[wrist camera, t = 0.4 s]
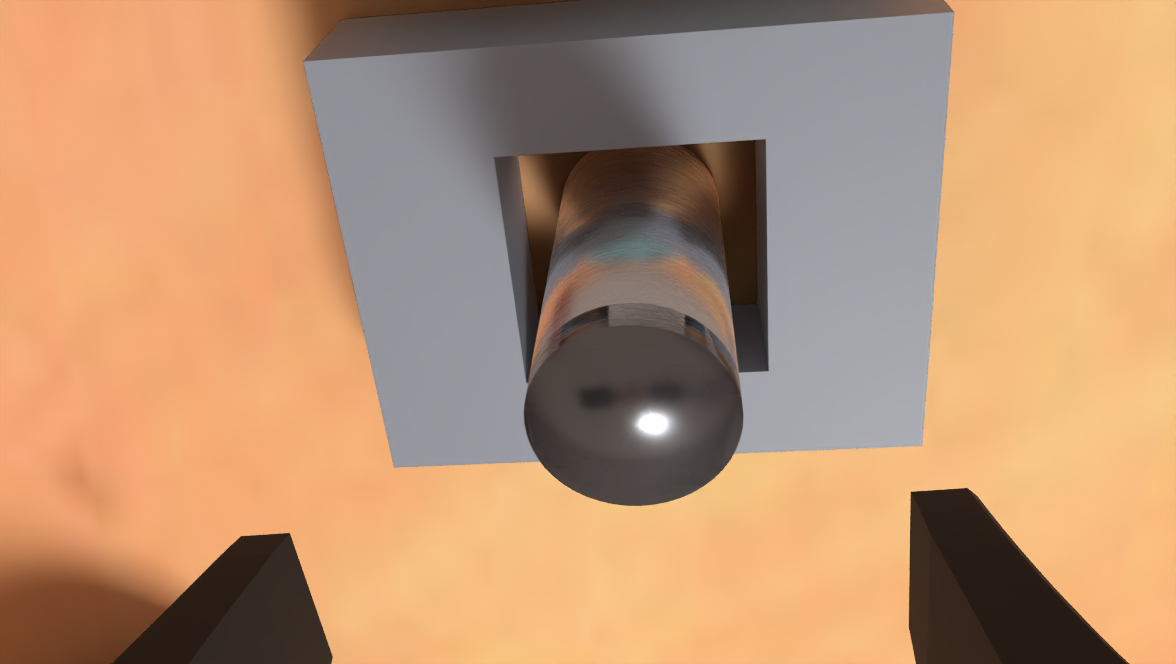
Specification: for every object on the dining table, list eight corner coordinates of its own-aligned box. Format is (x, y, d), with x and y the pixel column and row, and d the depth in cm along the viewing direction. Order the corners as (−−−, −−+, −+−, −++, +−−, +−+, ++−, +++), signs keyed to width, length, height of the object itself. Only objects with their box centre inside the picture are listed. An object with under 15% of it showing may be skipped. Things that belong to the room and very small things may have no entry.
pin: (716, 127, 20) (741, 319, 14) (721, 273, 22) (745, 501, 16) (553, 139, 21) (510, 332, 15) (569, 282, 22) (536, 509, 16)
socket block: (919, -27, 19) (954, 11, 17) (897, 373, 23) (922, 445, 21) (341, 19, 20) (303, 61, 18) (417, 395, 24) (393, 467, 22)
